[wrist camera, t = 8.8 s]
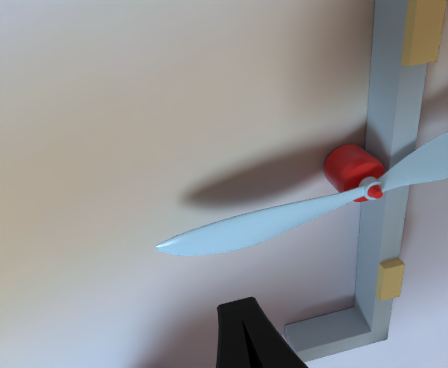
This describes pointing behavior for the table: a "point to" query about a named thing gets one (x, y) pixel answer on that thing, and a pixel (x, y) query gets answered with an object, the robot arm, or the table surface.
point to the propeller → (309, 209)
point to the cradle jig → (389, 156)
